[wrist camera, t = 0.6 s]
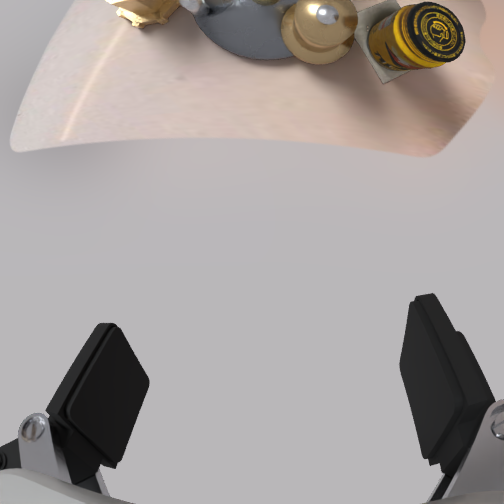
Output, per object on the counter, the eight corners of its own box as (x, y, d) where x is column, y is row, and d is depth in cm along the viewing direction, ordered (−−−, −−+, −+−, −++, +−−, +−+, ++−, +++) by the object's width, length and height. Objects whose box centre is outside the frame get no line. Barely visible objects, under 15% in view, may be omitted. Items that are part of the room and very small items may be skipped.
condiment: (382, 84, 28) (429, 83, 18) (341, 19, 25) (369, -13, 15) (431, 61, 26) (490, 55, 16) (393, -2, 23) (437, -34, 13)
